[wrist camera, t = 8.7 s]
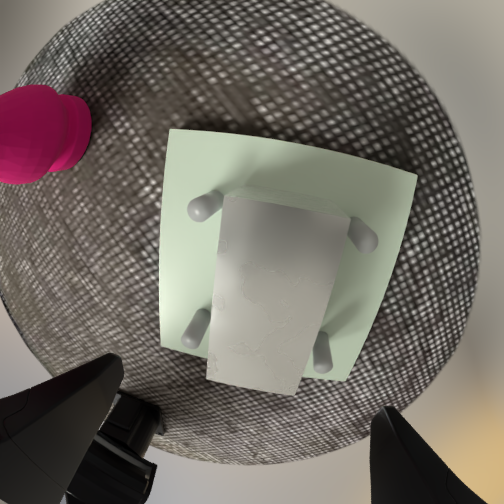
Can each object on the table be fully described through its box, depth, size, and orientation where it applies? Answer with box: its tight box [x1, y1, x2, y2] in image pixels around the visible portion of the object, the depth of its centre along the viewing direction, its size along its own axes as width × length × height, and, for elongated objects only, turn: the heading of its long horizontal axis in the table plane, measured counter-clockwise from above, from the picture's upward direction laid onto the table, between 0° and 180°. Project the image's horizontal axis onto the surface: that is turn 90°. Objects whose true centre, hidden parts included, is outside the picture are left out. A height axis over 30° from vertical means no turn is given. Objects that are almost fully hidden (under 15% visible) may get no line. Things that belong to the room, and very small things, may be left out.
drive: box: [206, 184, 351, 396], centre depth 14 cm, size 10×5×5 cm, turn 172°
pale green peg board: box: [159, 129, 418, 381], centre depth 16 cm, size 16×15×4 cm
